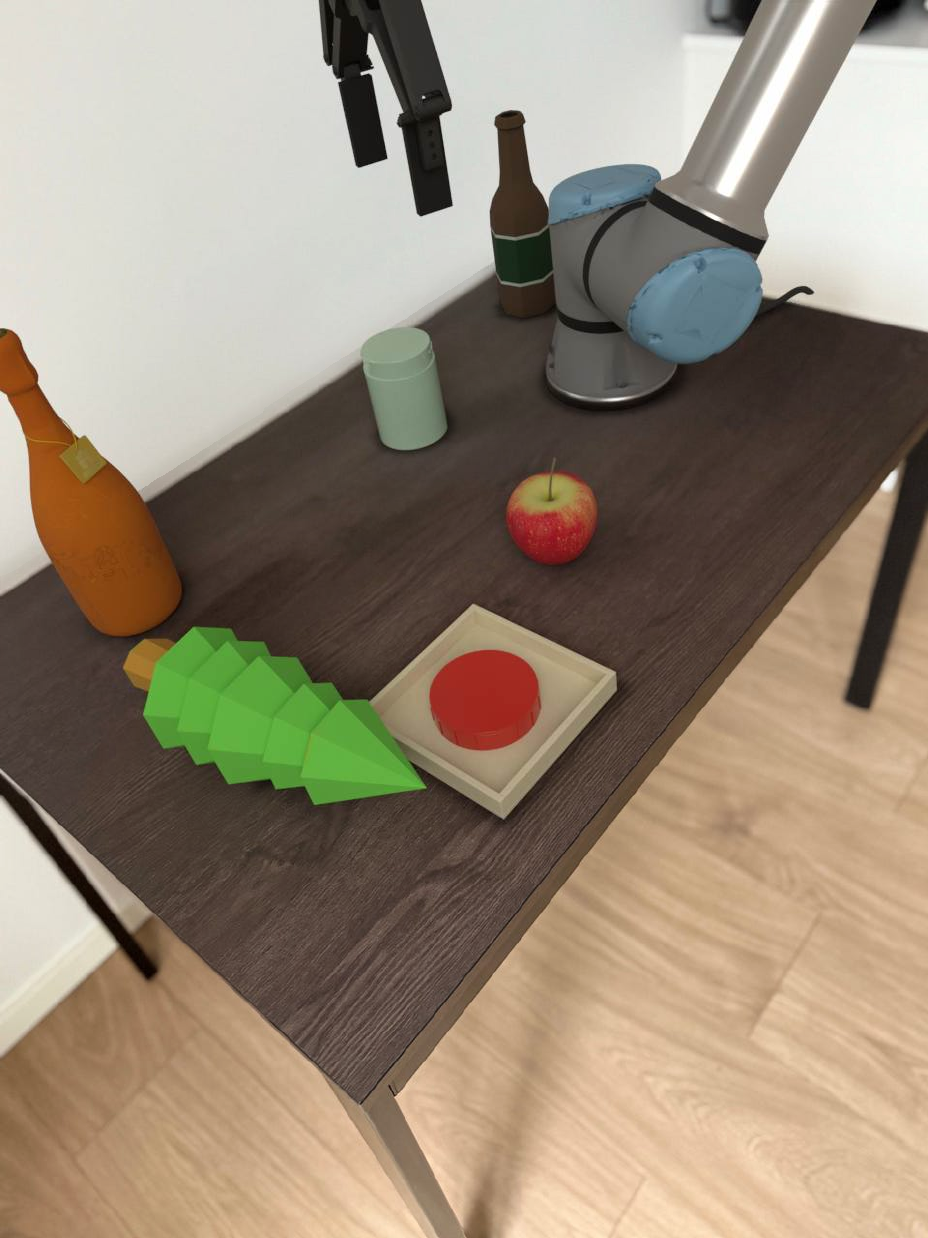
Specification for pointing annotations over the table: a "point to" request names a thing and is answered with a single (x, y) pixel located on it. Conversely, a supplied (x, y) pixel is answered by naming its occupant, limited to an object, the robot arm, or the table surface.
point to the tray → (513, 770)
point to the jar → (404, 388)
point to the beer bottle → (520, 227)
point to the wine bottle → (88, 513)
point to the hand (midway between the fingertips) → (401, 185)
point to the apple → (552, 516)
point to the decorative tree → (265, 718)
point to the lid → (485, 700)
